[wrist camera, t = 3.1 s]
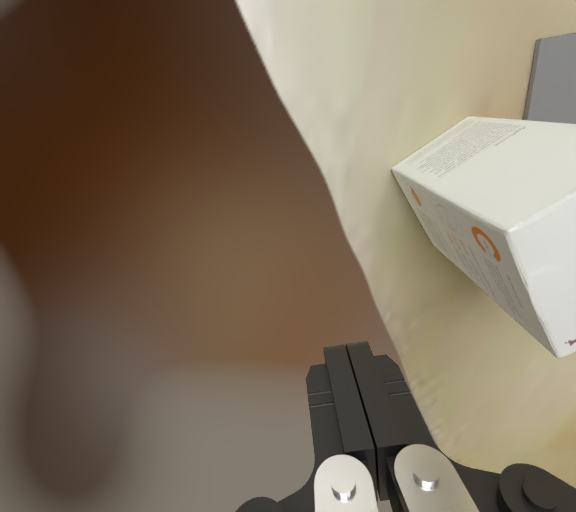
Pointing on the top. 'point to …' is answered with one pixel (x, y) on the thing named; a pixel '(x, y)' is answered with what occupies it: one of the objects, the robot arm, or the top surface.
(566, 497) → the robot arm
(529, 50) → the top surface
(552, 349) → the small box
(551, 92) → the mat
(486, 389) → the top surface
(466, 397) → the top surface
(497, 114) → the top surface
